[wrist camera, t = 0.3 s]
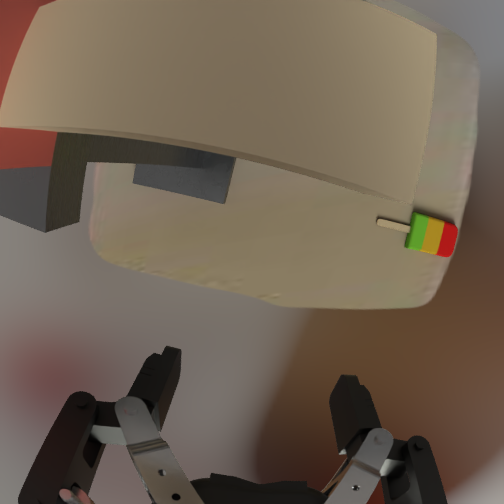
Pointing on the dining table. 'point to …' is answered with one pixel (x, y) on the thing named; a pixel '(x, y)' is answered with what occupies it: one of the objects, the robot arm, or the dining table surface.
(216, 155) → the stand
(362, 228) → the dining table surface
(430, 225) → the popsicle
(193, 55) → the mallet
